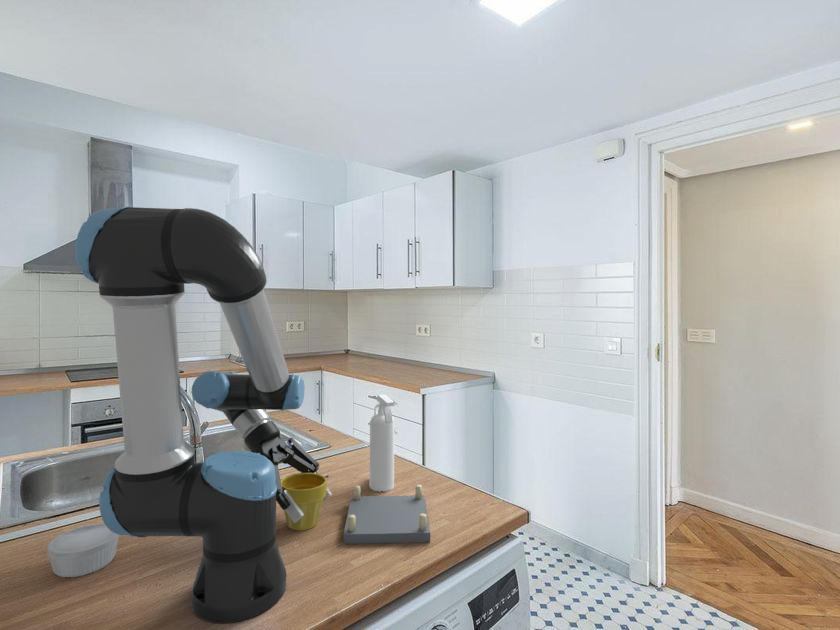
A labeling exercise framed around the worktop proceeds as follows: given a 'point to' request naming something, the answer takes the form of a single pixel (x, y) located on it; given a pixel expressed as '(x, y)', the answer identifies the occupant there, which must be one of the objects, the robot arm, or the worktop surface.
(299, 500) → the plant pot
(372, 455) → the white spray bottle
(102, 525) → the ramekin
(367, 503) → the peg board
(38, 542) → the worktop surface
